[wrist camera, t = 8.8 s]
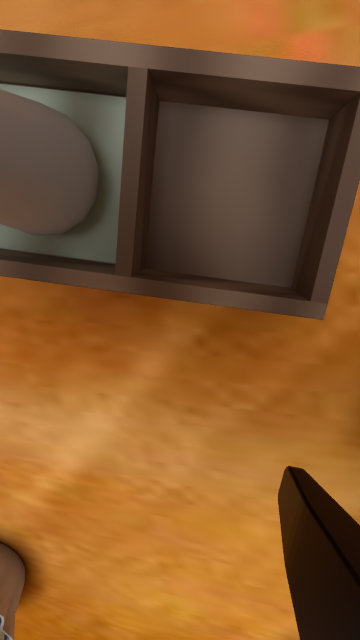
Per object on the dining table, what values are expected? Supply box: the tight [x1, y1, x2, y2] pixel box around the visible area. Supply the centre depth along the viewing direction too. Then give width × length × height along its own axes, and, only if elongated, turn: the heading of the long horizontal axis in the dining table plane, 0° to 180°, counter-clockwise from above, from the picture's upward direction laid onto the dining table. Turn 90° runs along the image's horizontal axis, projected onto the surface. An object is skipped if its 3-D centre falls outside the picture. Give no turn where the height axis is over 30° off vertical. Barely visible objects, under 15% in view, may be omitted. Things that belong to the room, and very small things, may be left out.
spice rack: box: [0, 29, 360, 320], centre depth 17 cm, size 29×10×4 cm, turn 83°
